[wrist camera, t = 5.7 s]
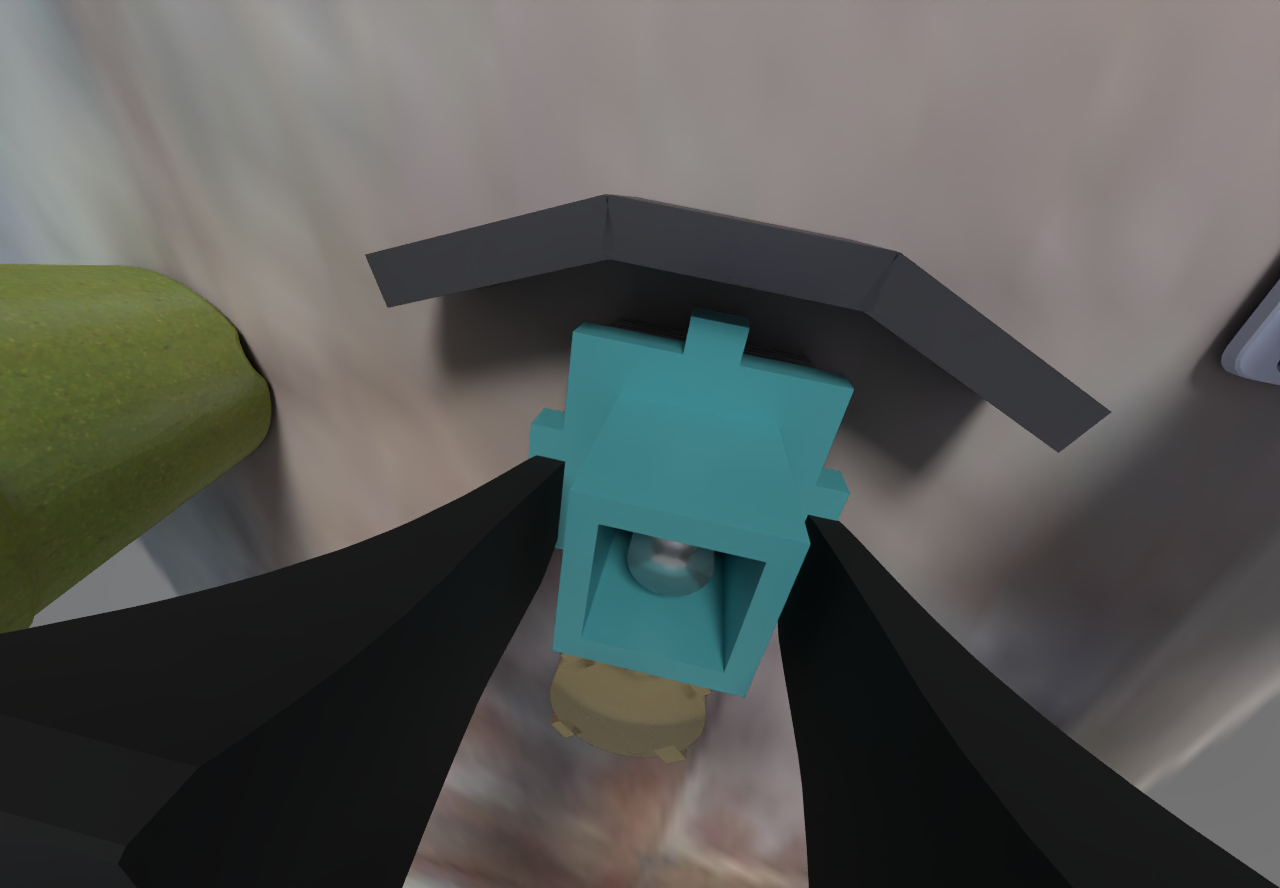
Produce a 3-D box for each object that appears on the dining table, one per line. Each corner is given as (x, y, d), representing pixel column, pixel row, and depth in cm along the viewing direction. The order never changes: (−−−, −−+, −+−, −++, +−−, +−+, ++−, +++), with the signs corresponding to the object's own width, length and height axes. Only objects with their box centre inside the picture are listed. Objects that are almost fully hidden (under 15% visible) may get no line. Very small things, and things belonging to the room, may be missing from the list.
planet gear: (893, 346, 10) (1027, 454, 6) (785, 598, 14) (817, 784, 9) (554, 279, 11) (437, 332, 6) (534, 540, 14) (451, 691, 10)
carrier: (1061, 281, 10) (1331, 341, 6) (820, 702, 17) (856, 877, 12) (443, 159, 11) (252, 126, 6) (453, 610, 18) (365, 746, 13)
